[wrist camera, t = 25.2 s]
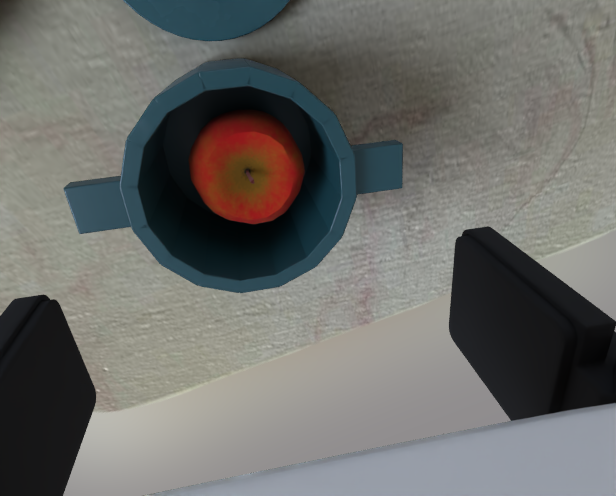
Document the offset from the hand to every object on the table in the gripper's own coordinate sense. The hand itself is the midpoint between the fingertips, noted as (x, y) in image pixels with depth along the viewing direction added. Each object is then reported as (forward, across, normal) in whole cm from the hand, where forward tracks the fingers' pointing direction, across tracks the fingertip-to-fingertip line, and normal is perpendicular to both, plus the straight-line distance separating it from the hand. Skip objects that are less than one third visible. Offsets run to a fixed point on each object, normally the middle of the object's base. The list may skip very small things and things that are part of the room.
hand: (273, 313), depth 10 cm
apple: (+21, 0, +1) cm, 21 cm away
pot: (+21, 0, +1) cm, 21 cm away
